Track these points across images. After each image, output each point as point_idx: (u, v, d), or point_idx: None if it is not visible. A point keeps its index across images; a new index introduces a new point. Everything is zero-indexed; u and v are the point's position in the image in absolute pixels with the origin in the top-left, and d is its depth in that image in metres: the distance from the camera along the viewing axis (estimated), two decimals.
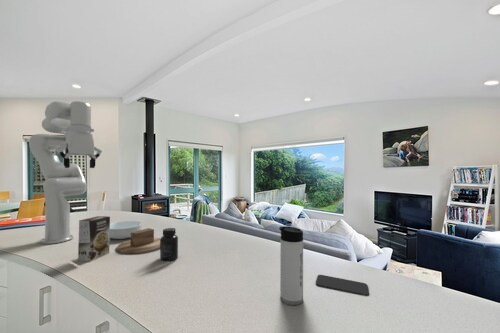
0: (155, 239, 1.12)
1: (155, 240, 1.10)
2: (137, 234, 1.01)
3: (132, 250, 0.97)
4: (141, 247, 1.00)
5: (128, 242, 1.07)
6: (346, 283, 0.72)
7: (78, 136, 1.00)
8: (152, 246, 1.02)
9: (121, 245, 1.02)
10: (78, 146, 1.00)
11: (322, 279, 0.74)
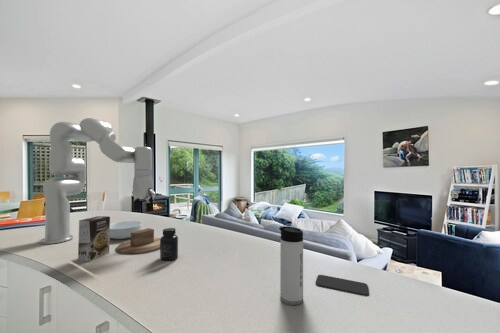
0: (155, 239, 1.12)
1: (155, 240, 1.10)
2: (137, 234, 1.01)
3: (132, 250, 0.97)
4: (141, 247, 1.00)
5: (128, 242, 1.07)
6: (346, 283, 0.72)
7: None
8: (152, 246, 1.02)
9: (121, 245, 1.02)
10: None
11: (322, 279, 0.74)
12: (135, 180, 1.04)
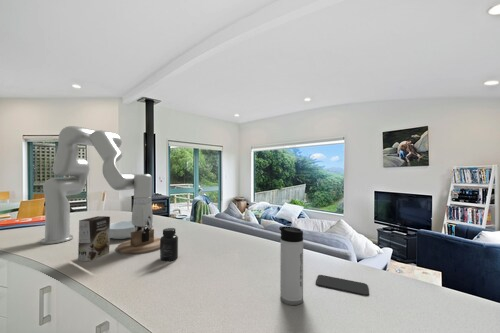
0: (155, 239, 1.12)
1: (155, 240, 1.10)
2: (137, 234, 1.01)
3: (132, 250, 0.97)
4: (141, 247, 1.00)
5: (128, 242, 1.07)
6: (346, 283, 0.72)
7: None
8: (152, 246, 1.02)
9: (121, 245, 1.02)
10: None
11: (322, 279, 0.74)
12: (134, 207, 1.04)
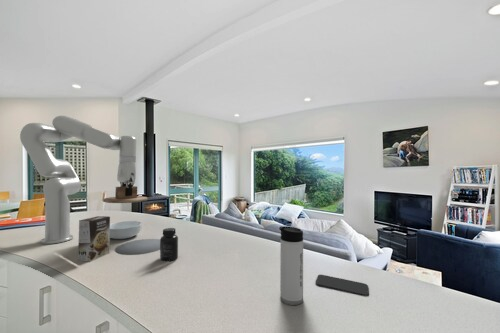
0: (139, 197, 1.24)
1: (138, 197, 1.23)
2: (121, 188, 1.14)
3: (115, 200, 1.09)
4: (124, 199, 1.13)
5: (114, 197, 1.20)
6: (346, 283, 0.72)
7: None
8: (134, 199, 1.14)
9: (107, 198, 1.15)
10: None
11: (322, 279, 0.74)
12: (120, 165, 1.17)
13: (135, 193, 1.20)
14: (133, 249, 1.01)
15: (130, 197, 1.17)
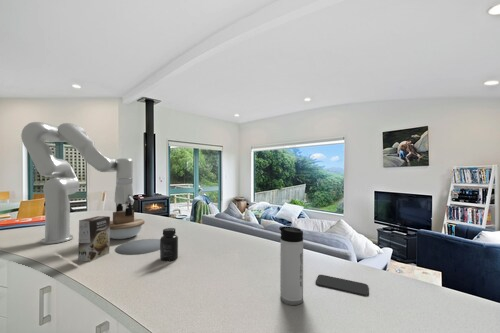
0: (136, 219, 1.27)
1: (135, 220, 1.25)
2: (118, 213, 1.16)
3: (113, 226, 1.11)
4: (121, 224, 1.15)
5: (111, 221, 1.22)
6: (346, 283, 0.71)
7: None
8: (131, 224, 1.16)
9: None
10: None
11: (322, 279, 0.74)
12: (117, 187, 1.19)
13: (132, 217, 1.22)
14: (133, 249, 1.01)
15: (127, 221, 1.20)
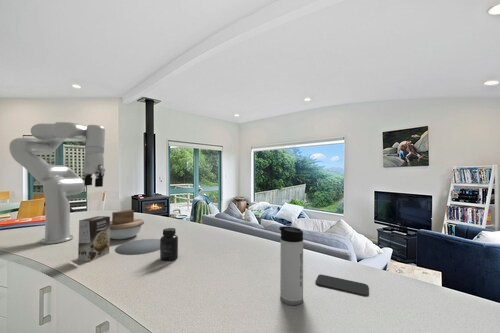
0: (135, 220, 1.26)
1: (135, 220, 1.25)
2: (118, 213, 1.16)
3: (112, 226, 1.11)
4: (121, 225, 1.15)
5: (111, 221, 1.22)
6: (346, 283, 0.71)
7: None
8: (131, 224, 1.16)
9: None
10: None
11: (322, 279, 0.74)
12: (86, 156, 1.09)
13: (132, 217, 1.22)
14: (133, 249, 1.01)
15: (127, 221, 1.19)
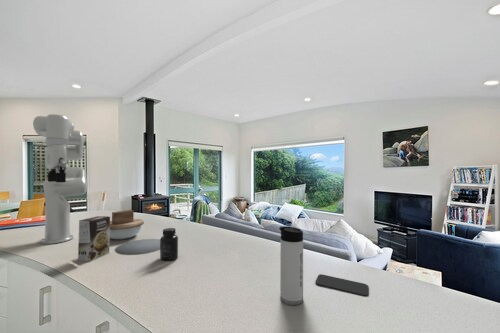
0: (135, 220, 1.26)
1: (135, 220, 1.24)
2: (117, 213, 1.15)
3: (112, 226, 1.11)
4: (121, 225, 1.14)
5: (111, 221, 1.21)
6: (346, 283, 0.71)
7: None
8: (130, 224, 1.16)
9: None
10: None
11: (322, 278, 0.74)
12: (47, 149, 0.99)
13: (131, 217, 1.21)
14: (133, 249, 1.01)
15: (126, 221, 1.19)
